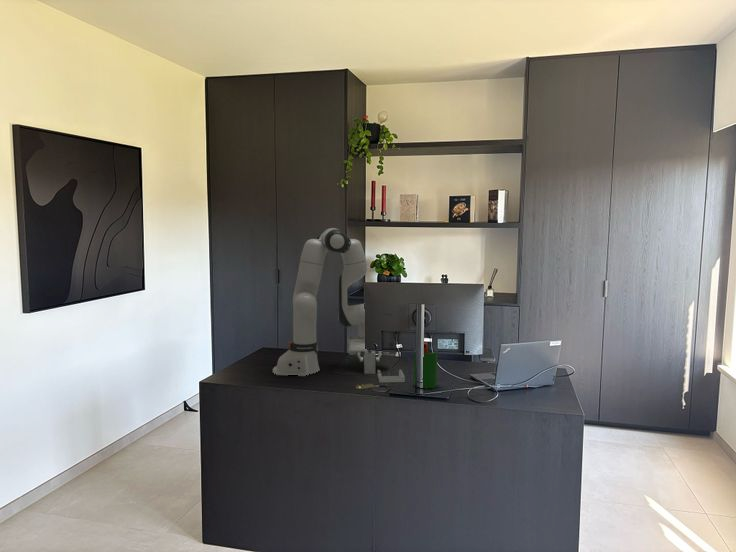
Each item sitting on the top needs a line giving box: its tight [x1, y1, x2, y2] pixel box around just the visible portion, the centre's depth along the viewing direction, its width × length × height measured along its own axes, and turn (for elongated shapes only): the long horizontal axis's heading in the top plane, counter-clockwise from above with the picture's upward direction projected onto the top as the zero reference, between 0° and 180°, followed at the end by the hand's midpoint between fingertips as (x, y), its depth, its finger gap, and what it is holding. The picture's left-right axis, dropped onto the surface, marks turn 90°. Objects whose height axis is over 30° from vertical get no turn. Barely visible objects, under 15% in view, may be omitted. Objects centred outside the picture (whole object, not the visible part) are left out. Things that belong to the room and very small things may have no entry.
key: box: [355, 383, 375, 390], centre depth 232 cm, size 8×3×1 cm, turn 119°
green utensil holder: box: [413, 342, 439, 390], centre depth 233 cm, size 10×9×20 cm
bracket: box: [376, 369, 406, 384], centre depth 244 cm, size 11×11×2 cm
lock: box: [363, 350, 376, 375], centre depth 254 cm, size 5×6×11 cm
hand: (369, 361), depth 253 cm, fingers open, 6 cm apart
